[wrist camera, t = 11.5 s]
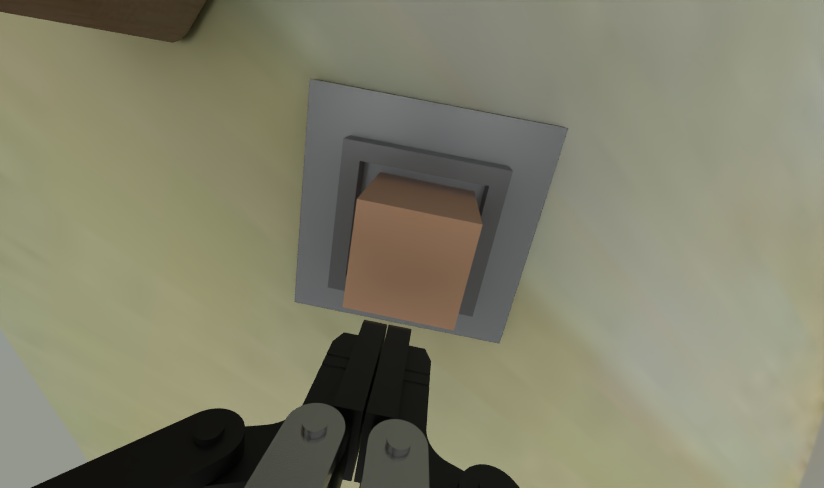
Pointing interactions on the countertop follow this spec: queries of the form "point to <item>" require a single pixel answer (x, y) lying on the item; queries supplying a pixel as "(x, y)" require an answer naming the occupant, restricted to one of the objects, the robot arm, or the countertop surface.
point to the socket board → (428, 161)
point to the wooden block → (115, 15)
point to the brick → (412, 250)
